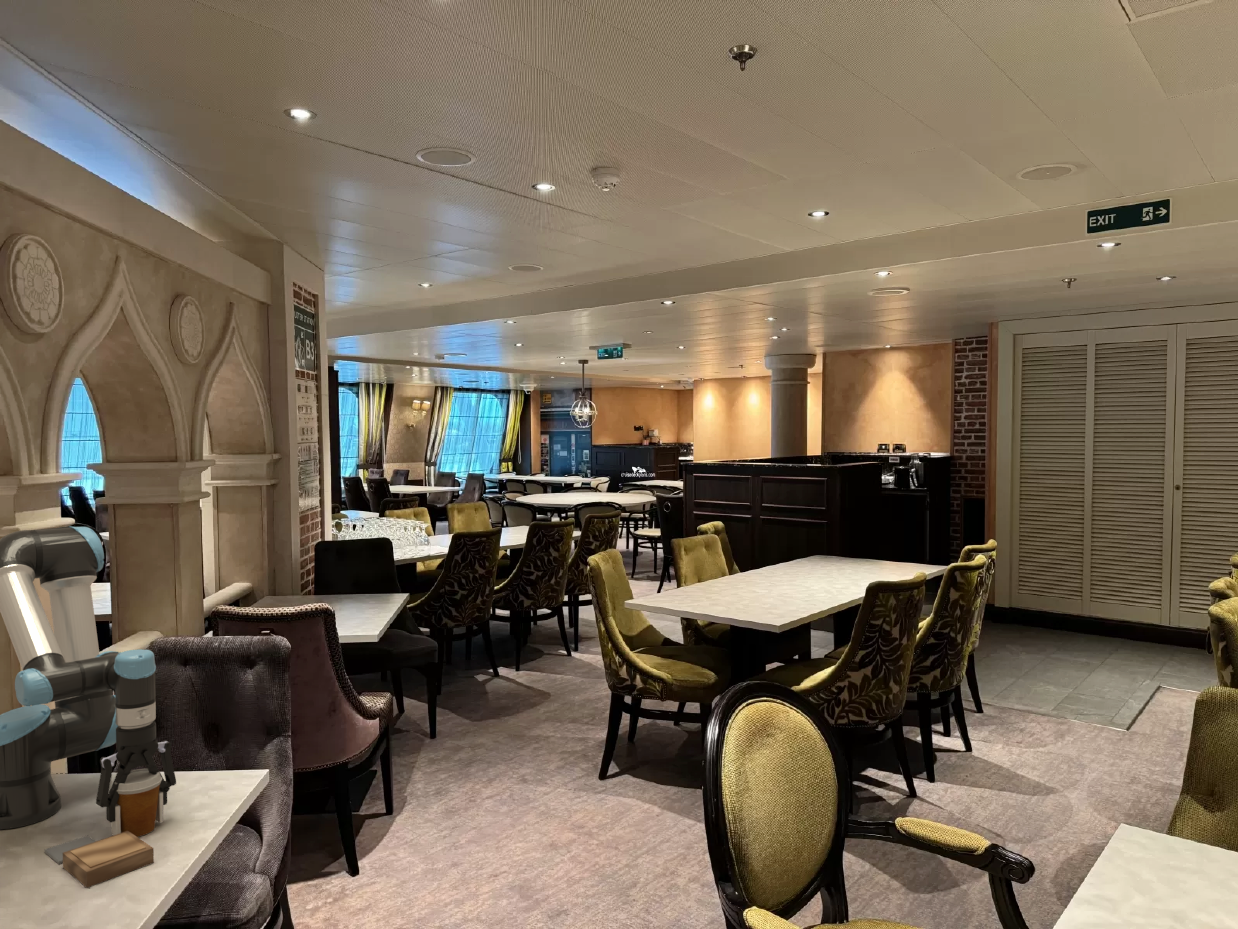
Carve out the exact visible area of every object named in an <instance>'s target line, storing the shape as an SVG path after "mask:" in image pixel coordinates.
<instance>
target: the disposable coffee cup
mask: <svg viewBox="0 0 1238 929" xmlns="http://www.w3.org/2000/svg"><path fill="white" fill-rule="evenodd" d="M160 773H161V772H160V771H159V772H157V774H155V775H153V774H152V773H150V772H149V771H148V769H147V768H139V769H131V772H130V774H129V775H128V776H127V779H126V781H125V784H123V783H120V784H119V786H118V790H117V791H118V794H119V799H118V801H117V803H116V804H118V805H119V806H120V827H121V833H123V832H126V831H129V832H130V833H132V834H133V835H135V836H136V837H138V838H139V837H142V836H145V835H147V834H150V833H152V832H153V831H154V830H155V828H156V811H157V803H158V795H159V787H160V783H161V781H162V777H163V776H162V777H161V775H162V774H161V775H160ZM115 784H118V783H116V782H115Z"/></svg>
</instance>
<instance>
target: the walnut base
mask: <svg viewBox="0 0 1238 929" xmlns="http://www.w3.org/2000/svg"><path fill="white" fill-rule="evenodd" d="M95 841H96V842H93V843H90V844H87V845H84V846H81V847H78V848H75V849H72V850H69V851H66V852H64V853H63V863H62V869H64V870H65V871H66V872H67V873H69V874H70V875H71V876H72V877H74V878H75V879H76V880H77V881H79V883H81V885H83V886H84V887H85V888H91V887H92V886H95V885H98V884H101V883H104V882H106V881H109V880H111V879H114V878H117V877H119V876H122V875H125V874H128V873H131V872H132V871H136V870H138V869H141V868H143V867H146V866H149V865H151V864H154V863H155V862H154V860H155V859H154V856H155V855H154V847H153V846H151V845H150V844H148V843H147V842H145V841H144V840H142V839H140V838H139V837H136V836H135V835H133V834H132V833H130V832H129V831H126V832H123V833H120V834H117V835H111V836H109V837H105V838H101V839H100V840H95Z"/></svg>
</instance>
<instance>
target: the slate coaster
mask: <svg viewBox="0 0 1238 929" xmlns="http://www.w3.org/2000/svg"><path fill="white" fill-rule="evenodd" d="M96 841H97V840H96V839H94V838H92V837H91V836H89V834H88V835H84V836H81V837H79V838H74V839H72V840H69V841H66V842H63V843H60V844H57V845H54V846H51V847H48V848H45V849H44V853H45V854H46V855H47V856H48V857H49V858H51V859H52V860H53V861H54V862H55V863H57V864H58V865H63V853H64V852H66V851H69V850H72V849H75V848H78V847H81V846H84V845H87V844H90V843H93V842H96Z"/></svg>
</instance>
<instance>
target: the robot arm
mask: <svg viewBox="0 0 1238 929" xmlns="http://www.w3.org/2000/svg"><path fill="white" fill-rule="evenodd" d="M104 559H105V553H104V548H103V545H102V542H101V539H100V537H99V536H98V534H97V533H96V532H95V531H94V530H93V529H92V528H90V527H88V526H71V525H70V526H64V527H51V528H40V529H29V530H27V529H24V530H23V529H22V530H17V531H13V532H10V533H8V534H7V535H4V536H2V537H1V538H0V615H1V617H2V619H3V624H4V625H5V628H6V631H7V633H8V636H9V638H10V641H11V643H12V647H13V648H14V651H15V654H16V656H17V659H18V662H19V664H20V667H21V671H19V672H17V674H16V676H15V680H14V690H15V697H16V699H17V701H18V703H19V704H20V705H22V707H17V708H14V709H10V710H9V711H6V712H3V713H1V714H0V830H9V829H15V828H20V827H25V826H29V825H33V824H35V823H38V822H41V821H44V820H46V819H49V818H50V817H51V816H54V815H56V814H57V812H59V811H60V810H61V807H62V803H61V802H62V799H61V794H60V793H59V790H58V787H57V785H56V783H55V781H54V778H53V776H52V767H51V766H52V762H55V761H59V760H62V759H63V760H64V759H66V758H72V757H75V756H79V755H82V754H87V753H91V752H96V751H99V750H102V749H104V748H108V747H111V746H113V745H116V748H115V750H114V753H113V754H111V755H109V756H107V757H106V756H101V758H100V759H99V764H100V775H99V781H98V787H97V793H96V794H97V795H96V799H95V804H96V805H98V806H99V807H100V808H106V812H105V813H106V817H105V818H106V821H107V822H109V823H110V824H111V825H110V826H111V827H110V828H111V832H110V834H111V836H114V835H117V834H120V833H121V827H120V806H119V805H118V804H116V803H117V801H118V799H119V794H118V791H117V790H118V786H119V784H120V783H123V784H125V781H126V779H127V776H128V775H129V774H130V772H131V771H132V770H135V769H137V768H138V767H144V766H145V767H146V769H148V771H149V772H150V773H152V774H153V775H155V774H157V772H160V770H159V768H158V766H157V763H156V761H155V759H154V758H153V756H154V755H155V753H156V752H157V750H158V752H159V754H160V755H159V756H160V760H161V765H162V770H163V773H164V774H163V775H162V773H161V772H160V775H161V777H162V781H161V783H160V787H159V795H158V803H157V811H156V820H155V822H158V823H159V824H161V823H163V822H164V821H165V820H164V806H165V805H167V803H168V792H169V791H170V789H171V787H173V786H176V785H177V777H176V774H175V773H176V772H175V768H174V763H173V760H172V755H171V752H172V743H171V742H169V741H167V740H162V741H161V742H158V741H157V722H156V721H155V720H156V717H157V715H156V714H157V713H156V710H157V709H156V704H157V703H156V670H157V665H156V661H155V653H154V652H153V651H152V650H150V649H141V648H139V649H130V650H124V651H122V652H121V651H120V652H119V651H116V650H115V651H114V650H107V651H102V652H101V653H100V649H99V648H100V647H99V640H98V633H97V632H98V631H97V626H96V625H97V624H96V616H95V610H94V603H93V596H92V585H93V583H94V582H95V581H96V580H97V578H98V577H97V573H98V572H100V571H101V570H103V568H104V565H105V561H104ZM35 579H39V585H40V587H41V588H42V589H44V590H45V591H46V592H48V594H49V603H50V610H51V619H52V626H51V623H50V621H49V618H48V615H47V613H46V611H45V609H44V607H43V606H44V605H43V604H42V602H41V599H40V597H39V594H38V592H37V589H36V587H35V585H34V581H35ZM52 627H53V628H52ZM113 691H114V694H113ZM53 702H54V708H52V709H51V708H50V707H49V706H48V705H47V704H49V703H53ZM115 761H118V762H119V765H118V767H117V772H116V775H115V777H114V779H113V782H112V781H111V780H112V775H113V767H114V766H115ZM163 776H164V777H163ZM111 782H112V784H111ZM115 782H116V783H118V784H115Z"/></svg>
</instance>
